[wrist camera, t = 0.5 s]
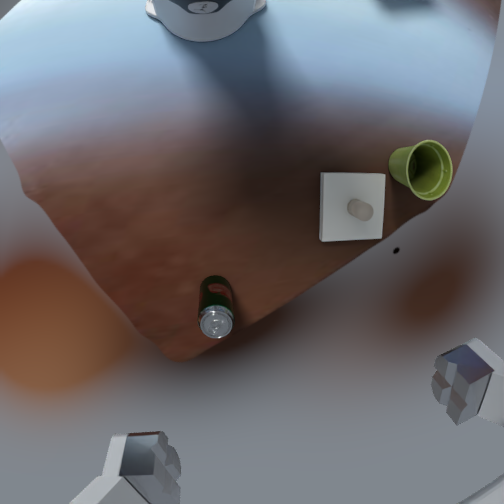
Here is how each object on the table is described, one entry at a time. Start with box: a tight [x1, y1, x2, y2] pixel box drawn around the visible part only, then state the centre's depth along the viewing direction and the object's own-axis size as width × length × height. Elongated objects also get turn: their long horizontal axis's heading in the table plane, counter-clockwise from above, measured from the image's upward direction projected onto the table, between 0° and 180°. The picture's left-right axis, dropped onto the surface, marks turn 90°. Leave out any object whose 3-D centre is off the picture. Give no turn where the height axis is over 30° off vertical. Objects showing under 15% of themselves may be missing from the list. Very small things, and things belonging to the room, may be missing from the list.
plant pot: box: [389, 140, 452, 200], centre depth 47 cm, size 9×9×9 cm
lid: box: [320, 173, 385, 242], centre depth 49 cm, size 11×11×5 cm
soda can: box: [198, 275, 235, 338], centre depth 48 cm, size 5×5×12 cm
